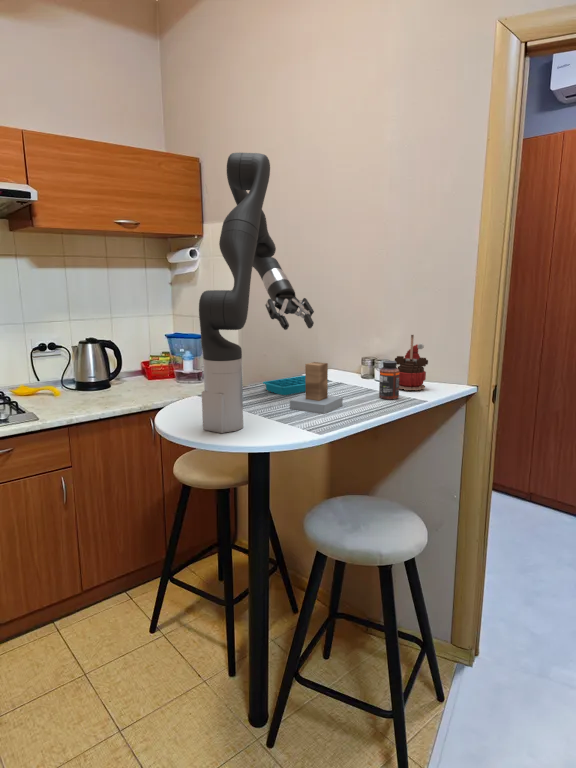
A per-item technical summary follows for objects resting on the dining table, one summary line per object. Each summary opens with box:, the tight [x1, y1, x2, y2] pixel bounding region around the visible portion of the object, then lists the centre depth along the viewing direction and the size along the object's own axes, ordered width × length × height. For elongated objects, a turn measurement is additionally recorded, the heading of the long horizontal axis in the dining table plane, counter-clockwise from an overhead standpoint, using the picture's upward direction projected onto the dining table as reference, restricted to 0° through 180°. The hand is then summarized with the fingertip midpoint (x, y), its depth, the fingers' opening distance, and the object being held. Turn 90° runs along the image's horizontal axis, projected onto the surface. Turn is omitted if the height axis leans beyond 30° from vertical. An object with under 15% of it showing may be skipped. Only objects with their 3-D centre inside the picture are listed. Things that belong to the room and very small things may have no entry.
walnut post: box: [304, 361, 329, 401], centre depth 146 cm, size 4×4×10 cm
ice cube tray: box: [262, 375, 329, 396], centre depth 171 cm, size 12×20×3 cm, turn 129°
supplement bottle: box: [378, 360, 400, 400], centre depth 157 cm, size 6×6×11 cm
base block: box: [289, 393, 344, 415], centre depth 147 cm, size 11×11×3 cm
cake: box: [394, 334, 429, 391], centre depth 169 cm, size 11×9×18 cm
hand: (299, 327), depth 151 cm, fingers open, 8 cm apart
